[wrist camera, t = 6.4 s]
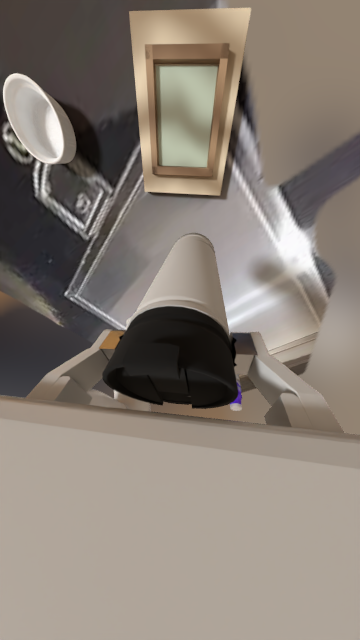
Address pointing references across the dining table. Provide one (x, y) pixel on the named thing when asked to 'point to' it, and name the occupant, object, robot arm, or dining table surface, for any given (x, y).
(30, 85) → the ramekin
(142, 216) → the dining table surface
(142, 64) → the board
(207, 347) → the travel mug
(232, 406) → the bottle
